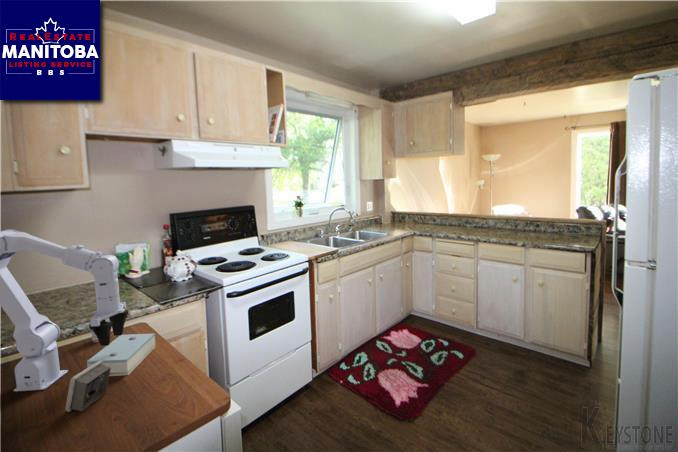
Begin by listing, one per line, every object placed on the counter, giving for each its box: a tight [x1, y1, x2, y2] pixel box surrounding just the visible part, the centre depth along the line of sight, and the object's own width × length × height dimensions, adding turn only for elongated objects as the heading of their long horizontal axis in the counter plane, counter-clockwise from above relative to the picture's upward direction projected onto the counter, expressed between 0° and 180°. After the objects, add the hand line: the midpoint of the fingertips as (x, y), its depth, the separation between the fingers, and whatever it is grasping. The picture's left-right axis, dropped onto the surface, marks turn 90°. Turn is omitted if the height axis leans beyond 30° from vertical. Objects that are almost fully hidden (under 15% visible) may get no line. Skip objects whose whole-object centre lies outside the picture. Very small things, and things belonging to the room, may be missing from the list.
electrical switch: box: [65, 360, 111, 413], centre depth 87 cm, size 9×5×9 cm, turn 173°
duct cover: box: [86, 333, 156, 365], centre depth 108 cm, size 18×11×1 cm, turn 5°
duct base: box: [86, 335, 157, 377], centre depth 108 cm, size 18×11×4 cm, turn 5°
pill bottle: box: [90, 329, 99, 343], centre depth 124 cm, size 5×5×8 cm
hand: (112, 339), depth 102 cm, fingers open, 6 cm apart
